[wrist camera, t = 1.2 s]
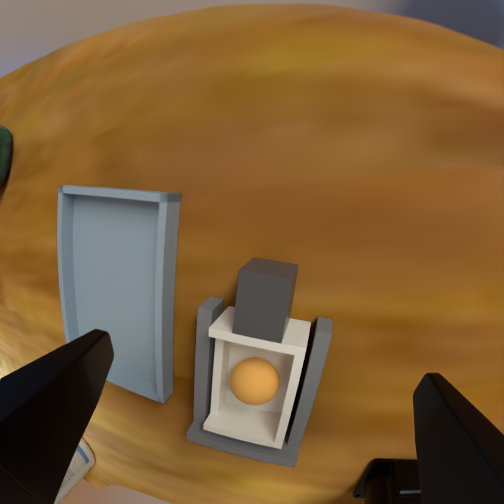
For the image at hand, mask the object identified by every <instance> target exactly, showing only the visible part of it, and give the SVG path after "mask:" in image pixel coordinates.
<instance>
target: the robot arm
mask: <svg viewBox="0 0 504 504" xmlns="http://www.w3.org/2000/svg"><path fill="white" fill-rule="evenodd" d="M113 359H114V350H113V346H112V342H111V337H110V334H109V333H108V332H107V331H104V330H100V329H93V330H91V331H90V332H88V333H86V334H84V335H82V336H80V337H78V338H76V339H74V340H72V341H71V342H69V343H67V344H65V345H63V346H61V347H59V348H57V349H55V350H54V351H52V352H50V353H48V354H46V355H44V356H42V357H40V358H38V359H36V360H35V361H33V362H31V363H29V364H27V365H25V366H23V367H21V368H20V369H18V370H16V371H14V372H12V373H10V374H8V375H6V376H4V377H3V378H1V379H0V504H54V503H55V500H56V497H57V495H58V492H59V490H60V487H61V485H62V482H63V480H64V478H65V475H66V473H67V470H68V468H69V466H70V463H71V461H72V459H73V456H74V454H75V452H76V449H77V447H78V445H79V443H80V440H81V438H82V436H83V434H84V432H85V429H86V427H87V425H88V423H89V421H90V419H91V416H92V414H93V412H94V410H95V408H96V406H97V404H98V401H99V399H100V396H101V393H102V390H103V387H104V384H105V382H106V379H107V376H108V373H109V370H110V368H111V365H112V362H113ZM413 408H414V426H415V444H416V452H417V460H401V459H375V460H373V461H372V463H371V464H370V466H369V468H368V469H367V471H366V473H365V475H364V476H363V478H362V480H361V481H360V483H359V484H358V486H357V488H356V489H355V491H354V492H353V497H355V498H365V504H504V435H503V434H502V433H501V432H500V431H499V430H498V429H497V428H496V427H495V426H494V425H493V424H492V423H491V422H490V421H489V420H488V419H487V418H486V417H485V416H484V415H483V414H482V413H481V412H480V411H479V410H478V409H477V408H476V407H475V406H474V405H472V404H471V403H470V402H469V401H468V400H467V399H466V398H465V397H464V396H463V395H462V394H461V393H460V392H459V391H458V390H457V389H456V388H455V387H453V386H452V385H451V384H450V383H449V382H448V381H447V380H446V379H445V378H444V377H443V376H442V375H441V374H439V373H426V374H425V375H424V376H423V378H422V380H421V381H420V383H419V385H418V386H417V388H416V389H415V391H414V394H413ZM376 463H377V464H376Z"/></svg>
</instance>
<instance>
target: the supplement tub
mask: <svg viewBox="0 0 504 504" xmlns="http://www.w3.org/2000/svg"><path fill="white" fill-rule="evenodd" d="M94 463H95V459H94V455H93V453H92V451H91V449H90V448H89V446H88V444H87V443H86V442H85V440H84V439H83V438H81V440H80V443H79V445H78V447H77V449H76V452H75V454H74V456H73V459H72V461H71V463H70V466H69V468H68V470H67V473H66V475H65V478H64V480H63V482H62V485H61V487H60V490H59V492H58V495H57V497H56V500H55V503H54V504H59V503H60V502H61V501H62V500H63V499H64V498H65V497H66V496H67V495H68V494H69V492H70V491H71V490H72V489H73V488H74V487H75V486H76V485H77V484H78V483H79V482H80V480H81V479H82V478H83V477H84V476H85V475H86V474H87V473H88V472H89V470H90V469H91V468H92V467H93V466H94Z"/></svg>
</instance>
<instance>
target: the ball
mask: <svg viewBox="0 0 504 504" xmlns="http://www.w3.org/2000/svg"><path fill="white" fill-rule="evenodd" d="M279 386H280V377H279V373H278V371H277V369H276V368H275V366H274V365H273V364H272V363H270V362H269V361H267V360H265V359H262V358H257V357H253V358H248V359H245V360H243V361H241V362H240V363H238V364H237V365H236V366H235V368H234V369H233V371H232V373H231V376H230V387H231V390H232V392H233V394H234V396H235V397H236V398H237V399H238V400H240V401H241V402H243V403H245V404H248V405H262V404H265V403H267V402H269V401H270V400H271V399H273V397H274V396H275V395H276V394H277V392H278V389H279Z"/></svg>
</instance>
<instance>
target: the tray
mask: <svg viewBox="0 0 504 504" xmlns="http://www.w3.org/2000/svg"><path fill="white" fill-rule="evenodd" d="M180 203H181V194H179V193H169V192H159V191H148V190H136V189H123V188H110V187H96V186H79V185H65V186H59V190H58V216H57V246H58V272H59V287H60V299H61V309H62V317H63V325H64V333H65V339H66V344H67V343H69V342H71V341H72V340H74V339H76V338H78V337H80V336H82V335H84V334H86V333H88V332H90V331H91V330H93V329H100V330H104V331H107V332H108V333H109V334H110V337H111V342H112V346H113V350H114V359H113V362H112V365H111V368H110V370H109V373H108V376H107V379H106V381H109V382H111V383H113V384H115V385H118V386H120V387H122V388H125V389H127V390H129V391H132V392H134V393H137V394H139V395H142V396H144V397H147V398H150V399H152V400H155V401H157V402H160V403H163V404H164V403H165V401H166V400H167V399H168V398H169V397H170V395H171V394H172V393H173V392H174V386H173V335H174V297H175V274H176V256H177V240H178V227H179V214H180Z"/></svg>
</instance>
